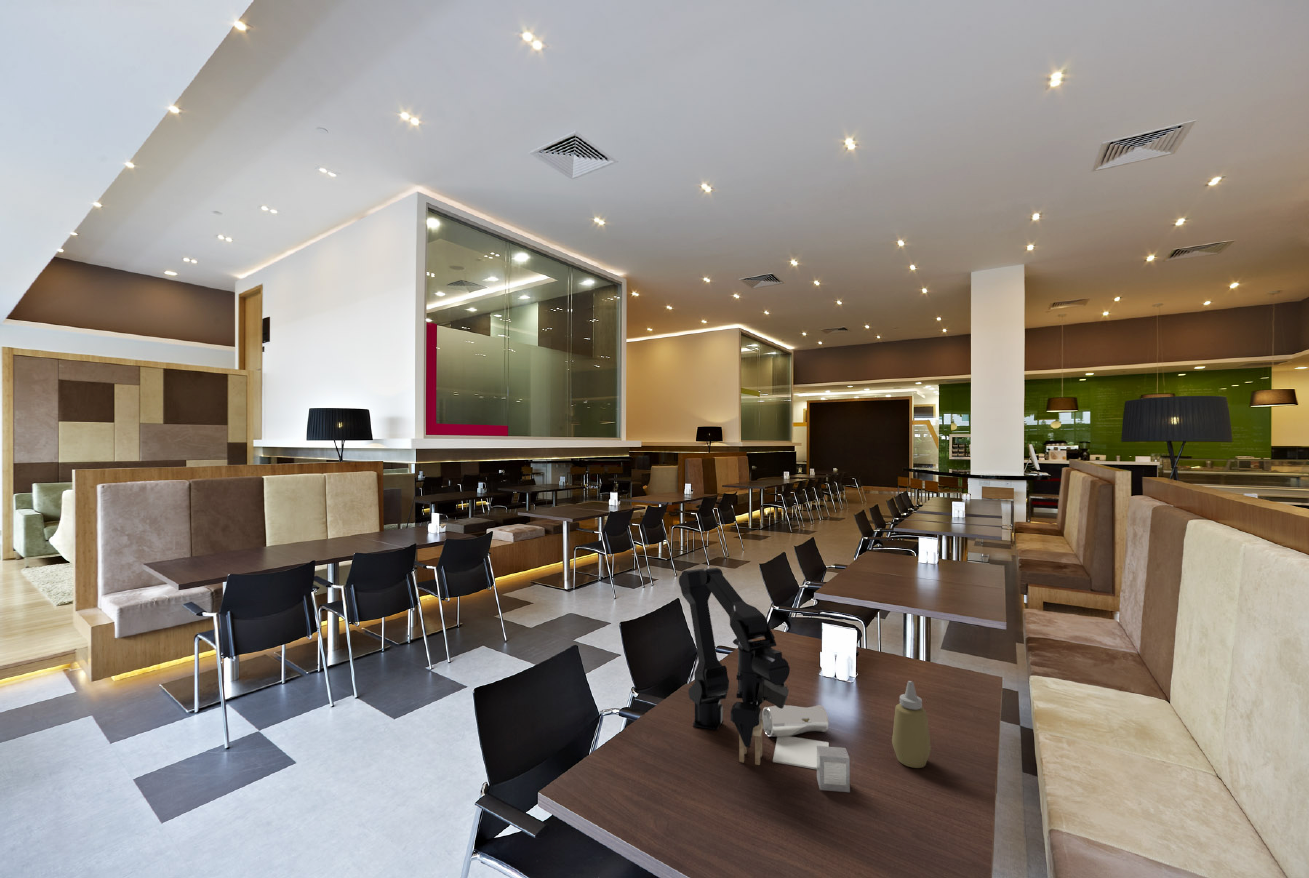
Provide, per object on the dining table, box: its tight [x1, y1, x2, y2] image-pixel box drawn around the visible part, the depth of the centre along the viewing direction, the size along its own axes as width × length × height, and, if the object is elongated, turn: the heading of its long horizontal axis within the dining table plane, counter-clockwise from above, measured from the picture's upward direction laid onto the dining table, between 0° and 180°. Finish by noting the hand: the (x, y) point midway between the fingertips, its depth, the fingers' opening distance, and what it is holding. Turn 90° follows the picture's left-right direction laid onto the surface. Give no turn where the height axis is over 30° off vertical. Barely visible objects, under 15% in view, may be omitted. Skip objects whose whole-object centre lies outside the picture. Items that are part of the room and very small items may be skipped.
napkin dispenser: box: [816, 746, 851, 793], centre depth 116 cm, size 6×4×7 cm
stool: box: [737, 718, 764, 766], centre depth 127 cm, size 5×5×8 cm
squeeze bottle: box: [891, 680, 932, 769], centre depth 126 cm, size 8×8×18 cm
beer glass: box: [761, 704, 829, 738], centre depth 138 cm, size 7×7×15 cm
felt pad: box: [772, 736, 830, 770], centre depth 129 cm, size 12×12×1 cm
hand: (750, 736), depth 127 cm, fingers open, 9 cm apart
